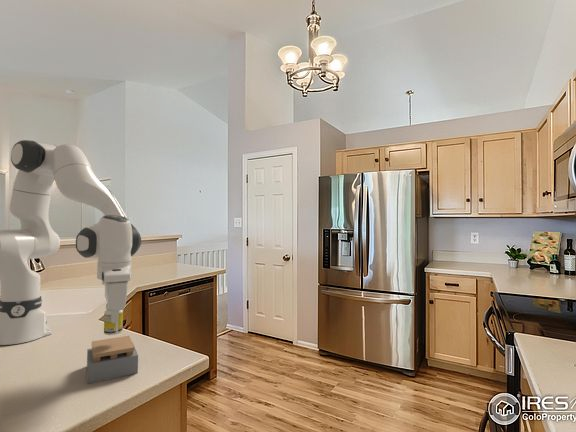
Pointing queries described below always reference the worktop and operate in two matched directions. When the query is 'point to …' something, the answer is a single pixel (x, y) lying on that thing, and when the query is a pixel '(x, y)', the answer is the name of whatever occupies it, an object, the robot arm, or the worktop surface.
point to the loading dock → (111, 359)
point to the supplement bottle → (112, 327)
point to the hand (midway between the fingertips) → (113, 319)
